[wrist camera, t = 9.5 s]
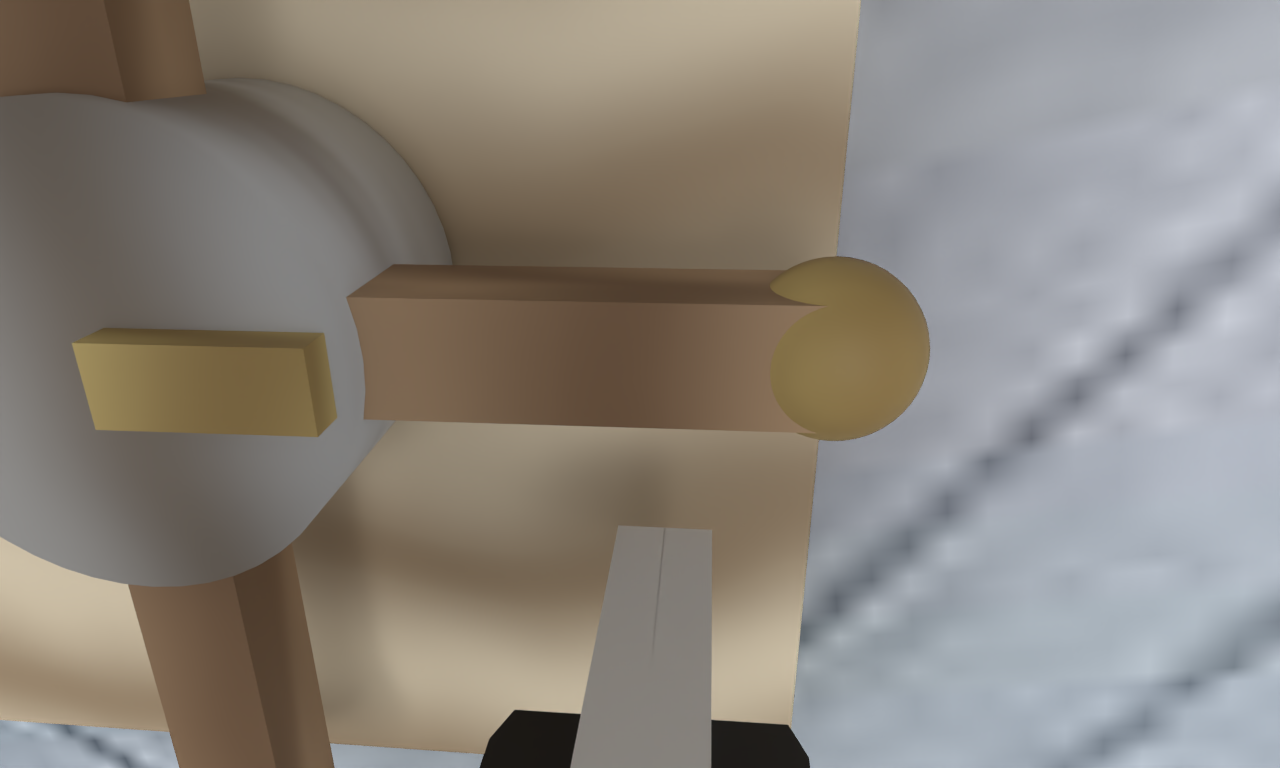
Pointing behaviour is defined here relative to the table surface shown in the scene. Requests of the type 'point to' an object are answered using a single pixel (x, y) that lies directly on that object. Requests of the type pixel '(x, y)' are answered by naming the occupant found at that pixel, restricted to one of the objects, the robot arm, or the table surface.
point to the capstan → (316, 346)
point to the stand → (519, 453)
